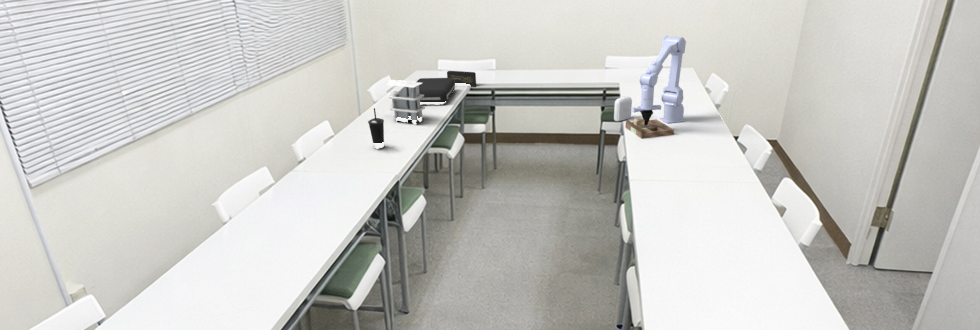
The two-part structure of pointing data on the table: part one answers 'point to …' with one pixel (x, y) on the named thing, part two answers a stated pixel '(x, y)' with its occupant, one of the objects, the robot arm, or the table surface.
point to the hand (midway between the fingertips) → (645, 124)
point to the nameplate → (463, 77)
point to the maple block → (639, 122)
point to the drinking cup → (377, 129)
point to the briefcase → (436, 89)
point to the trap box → (650, 129)
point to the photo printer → (622, 108)
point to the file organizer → (406, 99)
